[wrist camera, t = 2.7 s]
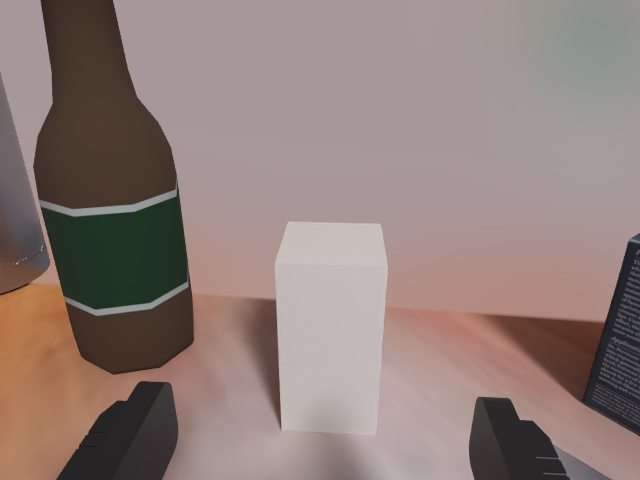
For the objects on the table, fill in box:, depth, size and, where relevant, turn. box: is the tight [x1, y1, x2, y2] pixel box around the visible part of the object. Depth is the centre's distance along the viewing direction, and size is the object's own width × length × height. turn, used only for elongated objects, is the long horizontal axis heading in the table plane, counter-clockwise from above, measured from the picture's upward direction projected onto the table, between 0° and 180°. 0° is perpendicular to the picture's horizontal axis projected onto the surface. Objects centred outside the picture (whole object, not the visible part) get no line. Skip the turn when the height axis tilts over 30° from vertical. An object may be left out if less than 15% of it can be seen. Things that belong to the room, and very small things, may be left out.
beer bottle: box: [33, 0, 194, 375], centre depth 27 cm, size 8×8×24 cm
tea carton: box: [275, 222, 388, 435], centre depth 25 cm, size 5×5×10 cm
